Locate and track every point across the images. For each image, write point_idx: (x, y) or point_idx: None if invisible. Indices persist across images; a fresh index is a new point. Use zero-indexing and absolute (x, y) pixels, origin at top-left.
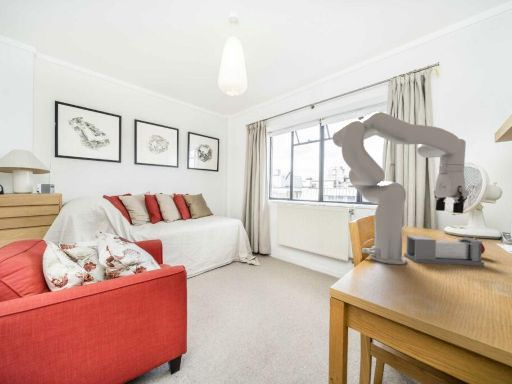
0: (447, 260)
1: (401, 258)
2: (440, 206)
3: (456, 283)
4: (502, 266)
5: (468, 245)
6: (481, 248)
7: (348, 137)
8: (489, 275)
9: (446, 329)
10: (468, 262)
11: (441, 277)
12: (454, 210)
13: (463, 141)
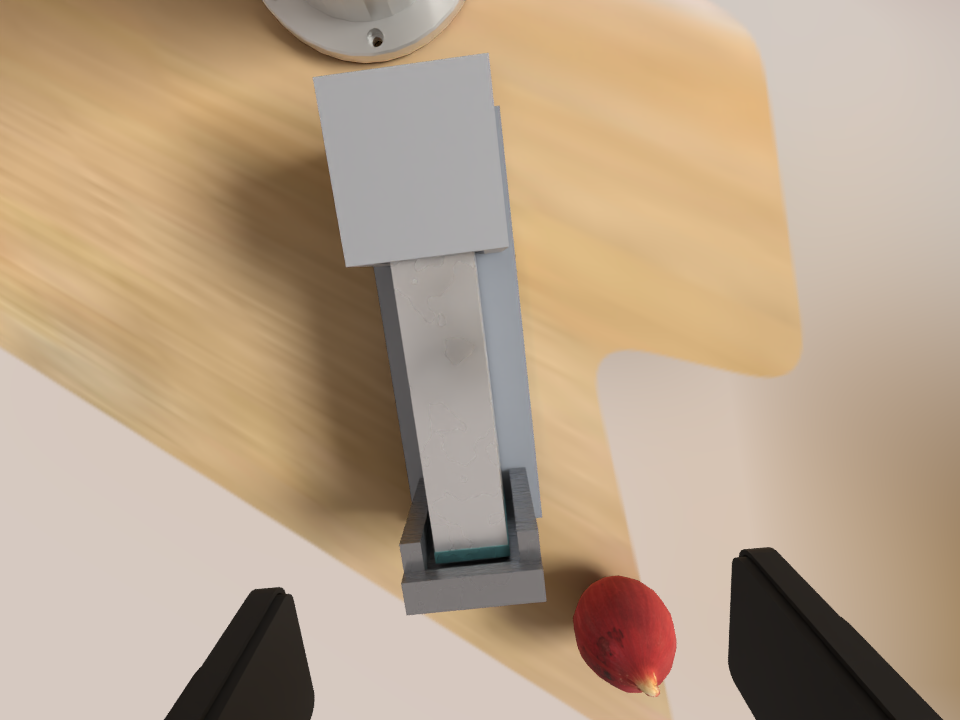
0: (390, 337)
1: (317, 7)
2: (779, 676)
3: (43, 189)
4: None
5: (432, 521)
6: (579, 644)
7: None
8: (245, 437)
9: None
10: (404, 449)
11: (107, 156)
12: (234, 620)
13: None
